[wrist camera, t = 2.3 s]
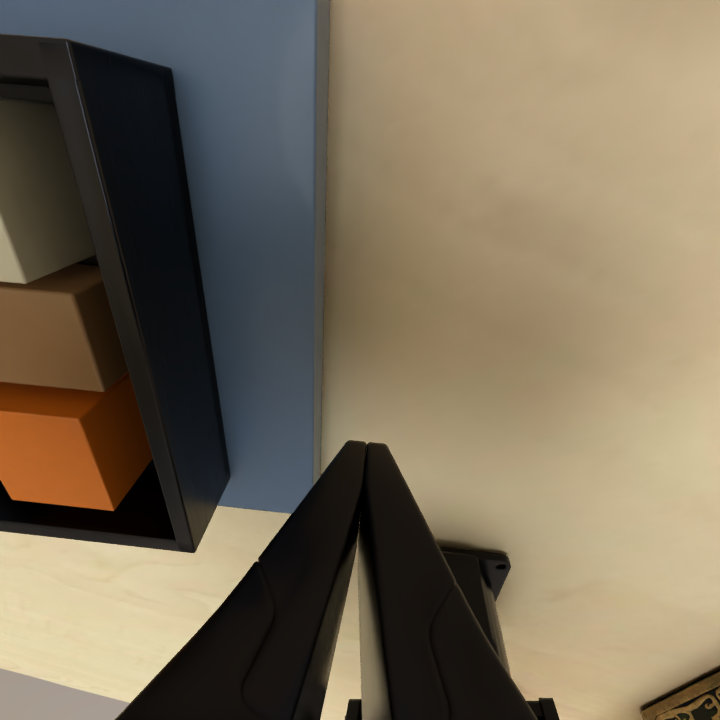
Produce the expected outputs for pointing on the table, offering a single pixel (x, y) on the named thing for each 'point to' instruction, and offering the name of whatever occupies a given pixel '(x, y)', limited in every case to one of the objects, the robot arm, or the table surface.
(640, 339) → the table surface
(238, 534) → the table surface
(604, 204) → the table surface
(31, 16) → the blue flat slab
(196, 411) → the black open tray
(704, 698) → the decorative box
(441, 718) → the robot arm
